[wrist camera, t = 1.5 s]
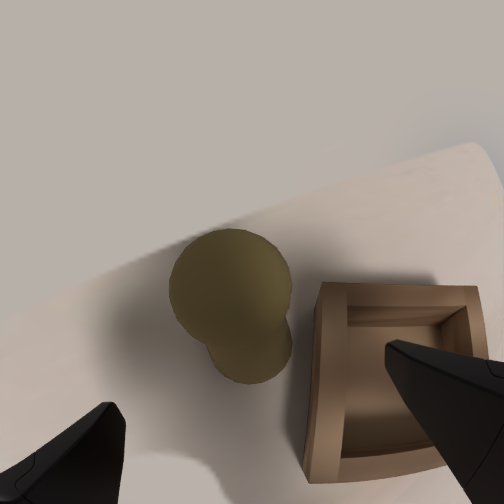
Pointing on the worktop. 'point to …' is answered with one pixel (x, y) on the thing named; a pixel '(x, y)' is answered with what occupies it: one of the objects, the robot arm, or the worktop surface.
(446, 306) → the socket block
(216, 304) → the cork
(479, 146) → the worktop surface
